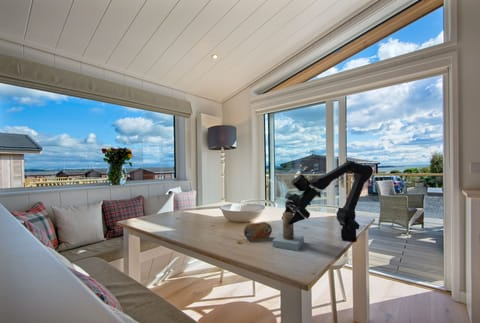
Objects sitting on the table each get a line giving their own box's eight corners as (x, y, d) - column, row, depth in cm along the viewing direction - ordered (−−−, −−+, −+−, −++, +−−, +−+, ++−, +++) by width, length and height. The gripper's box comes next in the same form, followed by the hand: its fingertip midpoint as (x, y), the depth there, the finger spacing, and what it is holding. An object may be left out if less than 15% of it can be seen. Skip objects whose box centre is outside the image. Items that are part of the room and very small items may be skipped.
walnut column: (292, 236, 115) (292, 212, 115) (294, 239, 110) (293, 214, 110) (282, 236, 115) (282, 212, 115) (283, 239, 110) (283, 214, 110)
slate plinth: (303, 242, 115) (303, 236, 115) (297, 250, 104) (297, 243, 104) (280, 238, 121) (280, 233, 121) (272, 246, 110) (272, 240, 110)
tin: (245, 241, 119) (244, 224, 119) (243, 239, 122) (242, 223, 122) (272, 238, 123) (271, 222, 123) (269, 236, 126) (269, 220, 126)
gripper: (288, 184, 122) (268, 207, 121) (302, 188, 104) (279, 214, 102) (302, 199, 124) (283, 221, 122) (319, 205, 105) (297, 231, 103)
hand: (285, 221), depth 112 cm, fingers open, 9 cm apart
